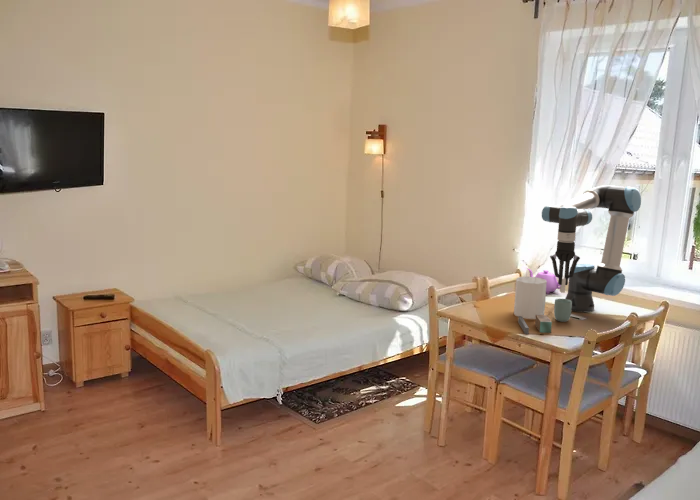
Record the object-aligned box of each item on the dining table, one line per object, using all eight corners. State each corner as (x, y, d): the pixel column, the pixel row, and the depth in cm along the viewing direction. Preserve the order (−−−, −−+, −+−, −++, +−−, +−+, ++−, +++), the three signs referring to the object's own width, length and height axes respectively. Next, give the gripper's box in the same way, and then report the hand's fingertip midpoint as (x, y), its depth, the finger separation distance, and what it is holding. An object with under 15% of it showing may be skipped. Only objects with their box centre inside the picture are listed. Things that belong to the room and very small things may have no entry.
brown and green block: (551, 332, 278) (545, 325, 289) (551, 322, 277) (546, 315, 288) (539, 332, 279) (534, 324, 289) (540, 321, 278) (535, 314, 288)
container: (517, 309, 315) (519, 275, 312) (546, 313, 309) (548, 278, 305) (511, 316, 302) (513, 281, 299) (541, 321, 296) (544, 284, 293)
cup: (550, 318, 300) (552, 298, 298) (566, 318, 301) (567, 298, 299) (557, 323, 292) (559, 303, 290) (573, 322, 293) (574, 302, 291)
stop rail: (521, 322, 293) (521, 316, 293) (528, 334, 276) (528, 327, 275) (517, 321, 293) (518, 315, 293) (525, 334, 276) (525, 327, 275)
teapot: (521, 291, 351) (522, 269, 349) (530, 286, 362) (531, 265, 360) (556, 296, 340) (558, 274, 337) (564, 291, 351) (566, 270, 349)
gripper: (553, 242, 272) (549, 293, 277) (583, 242, 271) (579, 294, 275) (549, 239, 279) (545, 289, 284) (578, 239, 278) (574, 290, 283)
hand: (562, 291), depth 280 cm, fingers closed
